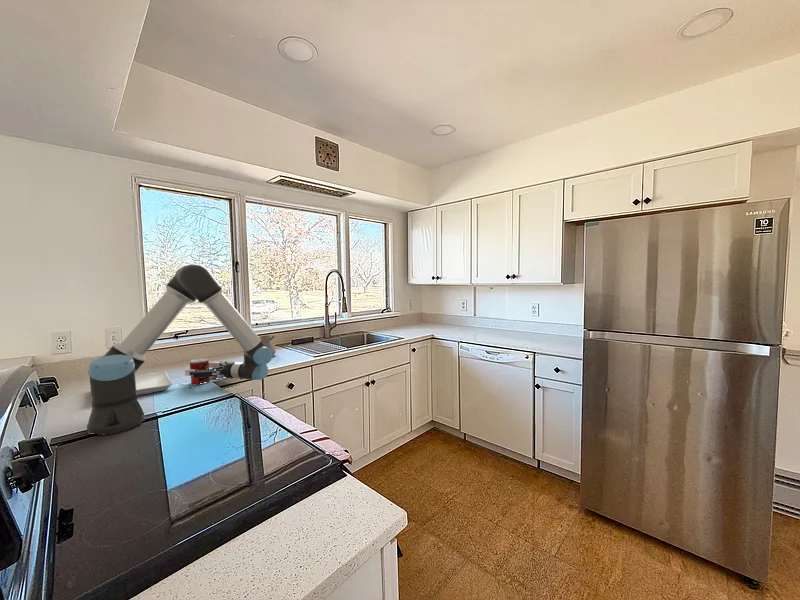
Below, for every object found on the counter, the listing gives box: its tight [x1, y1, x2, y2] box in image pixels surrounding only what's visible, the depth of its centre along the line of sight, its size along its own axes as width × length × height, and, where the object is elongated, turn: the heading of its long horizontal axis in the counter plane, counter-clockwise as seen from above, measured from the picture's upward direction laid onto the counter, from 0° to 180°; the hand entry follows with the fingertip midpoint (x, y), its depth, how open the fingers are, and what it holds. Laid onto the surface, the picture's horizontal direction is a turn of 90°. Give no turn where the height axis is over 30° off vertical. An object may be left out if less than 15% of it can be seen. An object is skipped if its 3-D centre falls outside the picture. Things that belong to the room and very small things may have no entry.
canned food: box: [189, 357, 211, 385], centre depth 162 cm, size 8×8×11 cm
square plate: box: [90, 371, 173, 402], centre depth 153 cm, size 27×27×4 cm
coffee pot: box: [259, 335, 277, 356], centre depth 210 cm, size 21×12×15 cm, turn 41°
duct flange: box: [210, 375, 225, 380], centre depth 173 cm, size 12×12×1 cm
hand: (197, 368), depth 163 cm, fingers open, 13 cm apart
